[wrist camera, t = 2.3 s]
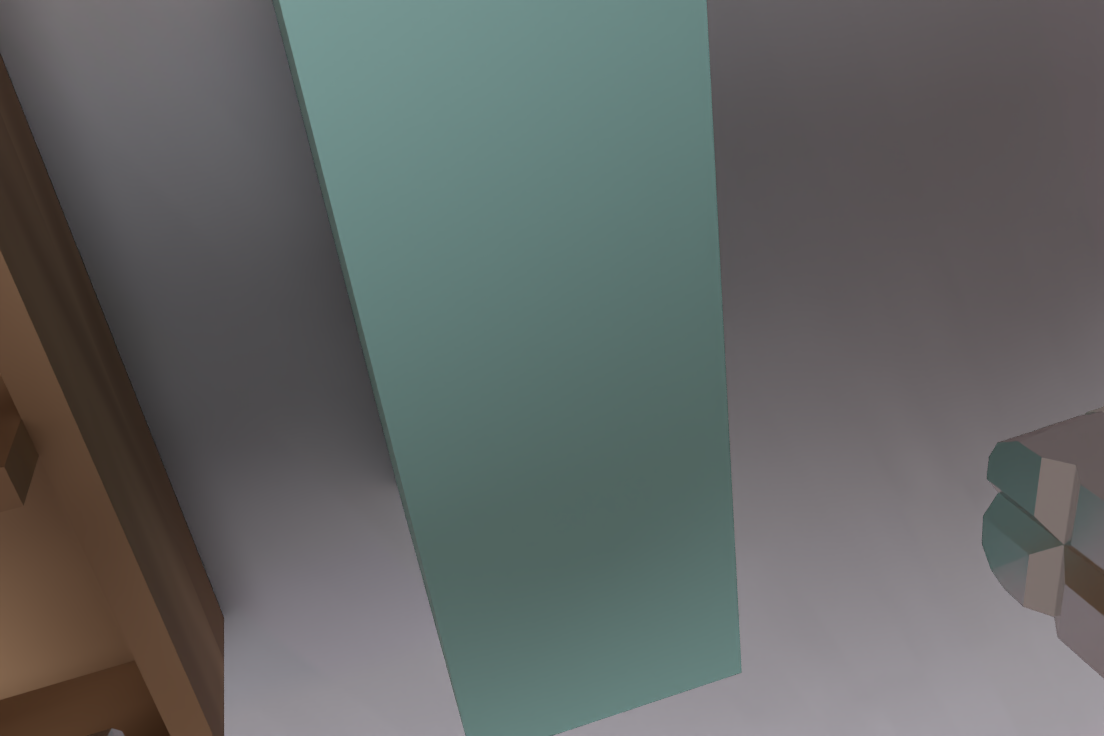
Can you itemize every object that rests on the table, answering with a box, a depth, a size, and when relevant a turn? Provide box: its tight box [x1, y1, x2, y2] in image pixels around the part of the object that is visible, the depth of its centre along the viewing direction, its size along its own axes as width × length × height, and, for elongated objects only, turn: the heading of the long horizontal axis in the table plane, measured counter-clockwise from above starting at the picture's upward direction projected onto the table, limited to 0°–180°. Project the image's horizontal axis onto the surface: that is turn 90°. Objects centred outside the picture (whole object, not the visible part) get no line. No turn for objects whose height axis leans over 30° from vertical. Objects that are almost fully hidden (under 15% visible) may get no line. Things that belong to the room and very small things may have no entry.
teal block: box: [272, 0, 742, 736], centre depth 14 cm, size 4×10×7 cm, turn 8°
